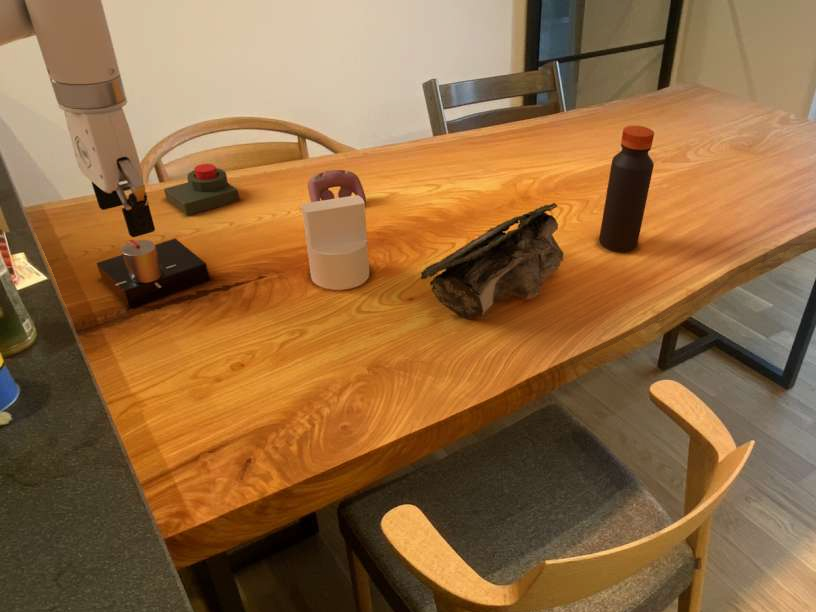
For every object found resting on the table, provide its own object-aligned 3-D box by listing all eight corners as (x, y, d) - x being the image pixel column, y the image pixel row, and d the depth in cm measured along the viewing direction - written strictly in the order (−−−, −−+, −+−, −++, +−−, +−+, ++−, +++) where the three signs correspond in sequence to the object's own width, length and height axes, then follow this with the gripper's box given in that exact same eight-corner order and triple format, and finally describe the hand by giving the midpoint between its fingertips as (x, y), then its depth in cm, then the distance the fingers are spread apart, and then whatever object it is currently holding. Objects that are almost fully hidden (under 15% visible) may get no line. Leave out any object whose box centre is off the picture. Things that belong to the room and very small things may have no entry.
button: (202, 182, 123) (200, 173, 122) (192, 176, 125) (190, 166, 124) (221, 177, 125) (219, 168, 124) (211, 171, 127) (209, 162, 126)
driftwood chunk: (438, 358, 101) (495, 327, 89) (391, 283, 100) (442, 242, 88) (552, 281, 118) (612, 246, 106) (512, 216, 116) (569, 174, 104)
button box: (187, 215, 121) (181, 194, 118) (165, 199, 125) (160, 178, 123) (241, 200, 127) (237, 179, 124) (219, 185, 131) (214, 164, 128)
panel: (135, 316, 97) (128, 297, 95) (100, 280, 103) (93, 262, 101) (217, 286, 104) (213, 268, 102) (179, 254, 110) (175, 237, 108)
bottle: (590, 242, 121) (608, 129, 109) (613, 230, 125) (633, 120, 113) (622, 257, 118) (644, 142, 105) (644, 244, 122) (668, 132, 109)
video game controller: (362, 205, 131) (355, 167, 129) (368, 204, 127) (361, 165, 125) (310, 213, 127) (302, 174, 125) (315, 212, 123) (306, 172, 121)
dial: (168, 276, 100) (160, 246, 97) (138, 286, 97) (128, 256, 94) (154, 264, 102) (146, 235, 99) (124, 274, 100) (115, 244, 97)
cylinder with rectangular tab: (320, 294, 104) (311, 221, 96) (304, 266, 110) (294, 195, 102) (377, 282, 107) (372, 211, 100) (358, 255, 113) (353, 186, 106)
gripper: (30, 76, 86) (73, 204, 97) (85, 118, 77) (125, 253, 88) (94, 67, 90) (128, 190, 101) (152, 106, 81) (183, 236, 92)
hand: (127, 219), depth 94 cm, fingers open, 9 cm apart
